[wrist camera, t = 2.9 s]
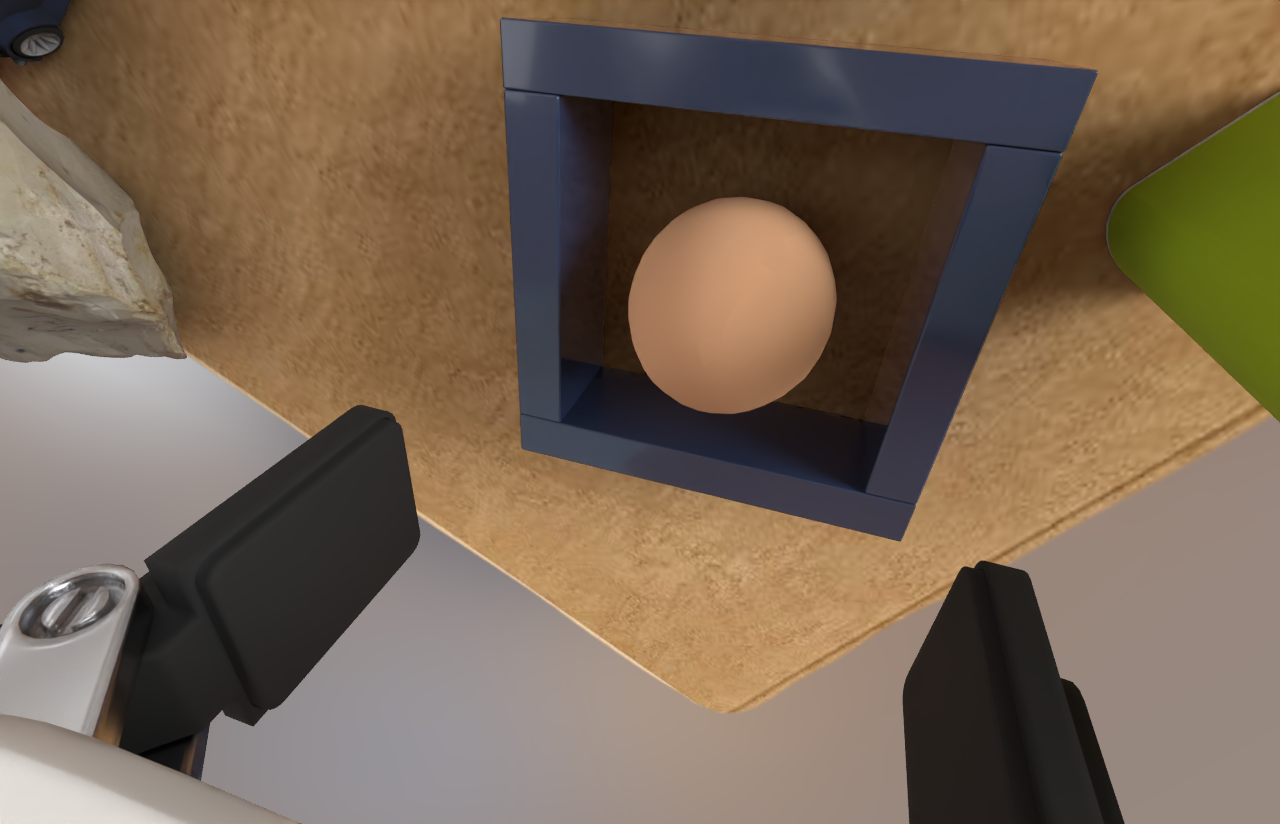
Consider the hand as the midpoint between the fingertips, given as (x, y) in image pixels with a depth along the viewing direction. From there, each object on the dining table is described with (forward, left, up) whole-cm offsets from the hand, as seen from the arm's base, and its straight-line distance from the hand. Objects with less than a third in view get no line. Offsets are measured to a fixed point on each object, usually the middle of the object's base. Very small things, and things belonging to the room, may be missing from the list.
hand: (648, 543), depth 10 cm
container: (0, 0, -14) cm, 14 cm away
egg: (0, 0, -14) cm, 14 cm away
